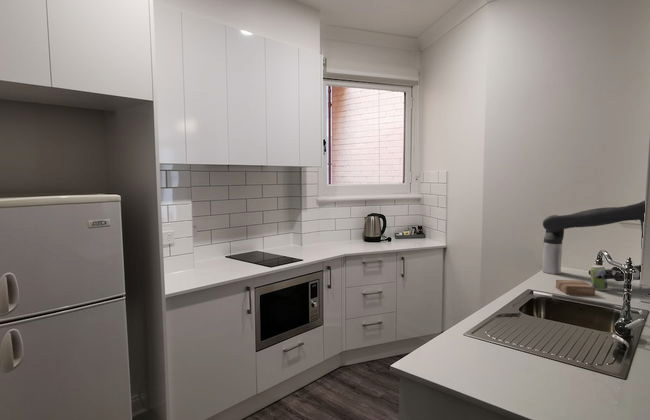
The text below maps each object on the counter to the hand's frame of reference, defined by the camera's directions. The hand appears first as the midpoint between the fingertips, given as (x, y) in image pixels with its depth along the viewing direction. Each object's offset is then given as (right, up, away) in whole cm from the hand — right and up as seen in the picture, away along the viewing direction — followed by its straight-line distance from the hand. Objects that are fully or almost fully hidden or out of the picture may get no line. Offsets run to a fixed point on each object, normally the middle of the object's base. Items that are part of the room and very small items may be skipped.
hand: (596, 274), depth 187 cm
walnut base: (-13, -8, -3) cm, 15 cm away
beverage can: (+1, -8, +1) cm, 8 cm away
